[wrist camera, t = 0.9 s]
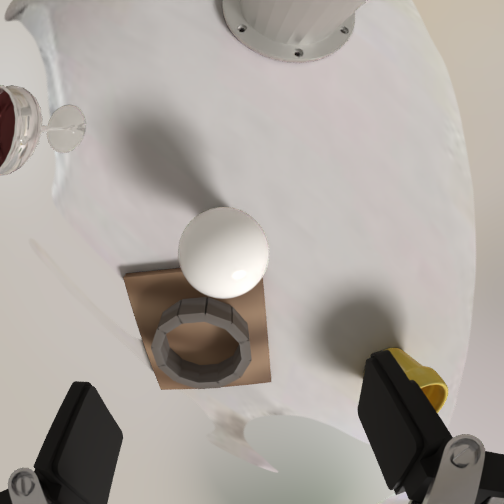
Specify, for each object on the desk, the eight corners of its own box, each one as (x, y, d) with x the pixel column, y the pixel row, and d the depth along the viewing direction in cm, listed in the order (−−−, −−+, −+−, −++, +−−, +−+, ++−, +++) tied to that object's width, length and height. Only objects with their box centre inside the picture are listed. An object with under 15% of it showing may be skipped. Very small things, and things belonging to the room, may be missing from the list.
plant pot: (376, 328, 34) (411, 380, 25) (427, 341, 36) (462, 384, 27) (336, 387, 37) (358, 441, 28) (389, 393, 39) (414, 438, 30)
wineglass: (86, 165, 25) (11, 186, 14) (36, 158, 24) (-43, 176, 13) (100, 98, 23) (28, 80, 12) (47, 95, 22) (-31, 86, 11)
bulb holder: (126, 273, 30) (113, 291, 26) (260, 259, 30) (264, 276, 26) (162, 384, 35) (157, 406, 31) (270, 376, 36) (274, 399, 32)
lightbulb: (183, 242, 29) (159, 297, 18) (205, 180, 27) (189, 204, 17) (244, 263, 30) (251, 327, 20) (269, 204, 28) (292, 242, 18)
